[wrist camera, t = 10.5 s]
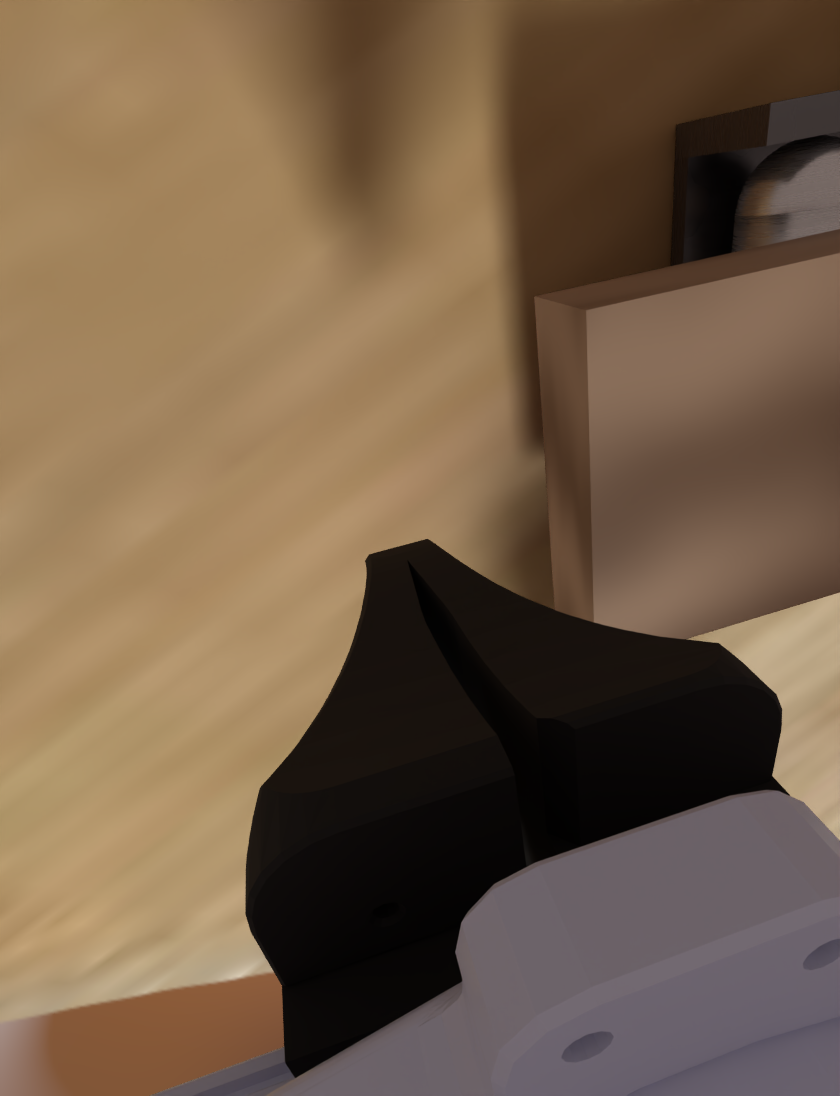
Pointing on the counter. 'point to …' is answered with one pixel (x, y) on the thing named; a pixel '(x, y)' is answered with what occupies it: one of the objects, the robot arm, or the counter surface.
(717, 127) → the roller bed
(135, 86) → the counter surface
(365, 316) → the counter surface
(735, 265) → the slab
